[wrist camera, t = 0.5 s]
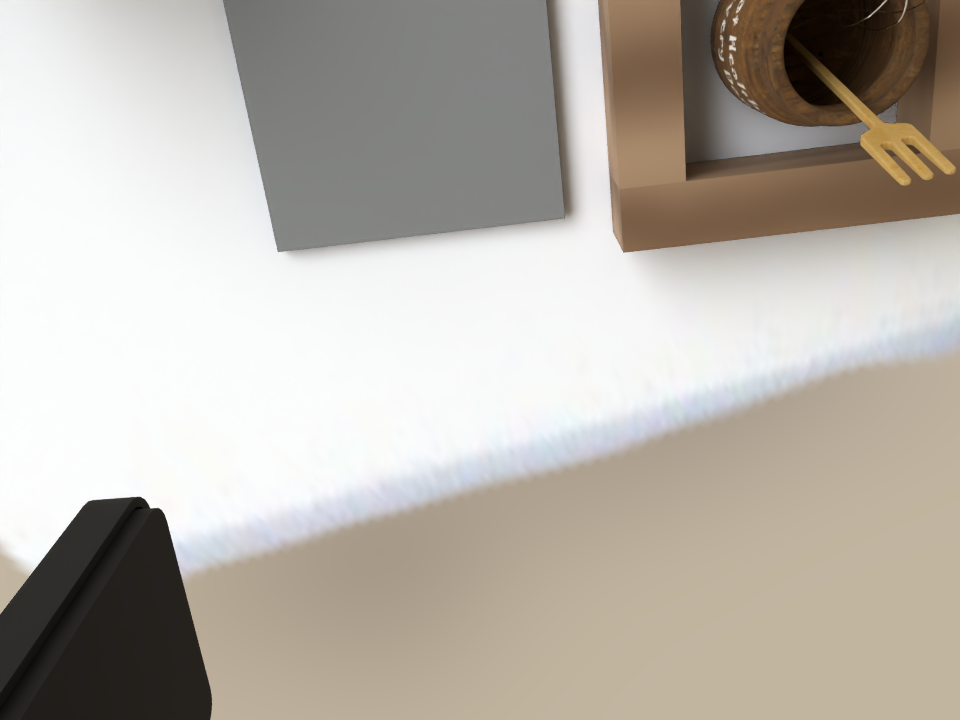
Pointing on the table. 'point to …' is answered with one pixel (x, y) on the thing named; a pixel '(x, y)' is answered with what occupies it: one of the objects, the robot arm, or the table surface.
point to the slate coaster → (398, 115)
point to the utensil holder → (829, 67)
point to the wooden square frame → (760, 178)
